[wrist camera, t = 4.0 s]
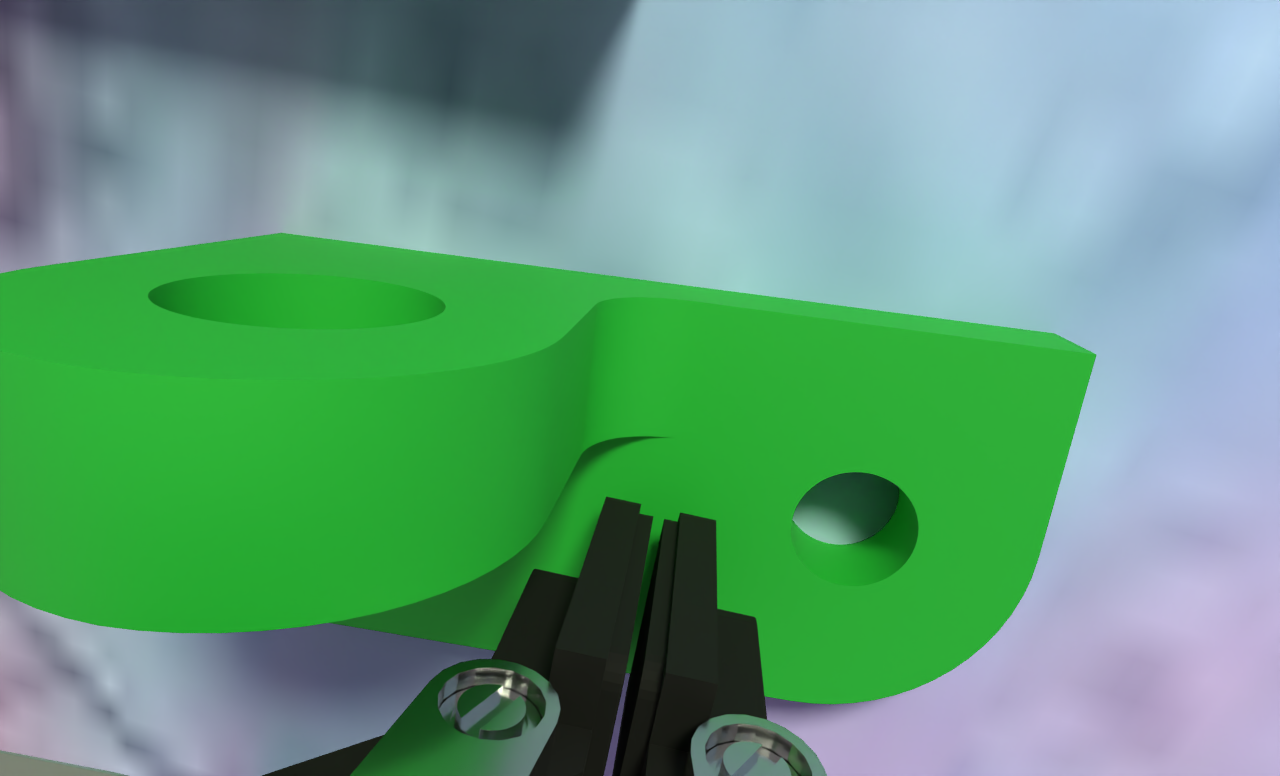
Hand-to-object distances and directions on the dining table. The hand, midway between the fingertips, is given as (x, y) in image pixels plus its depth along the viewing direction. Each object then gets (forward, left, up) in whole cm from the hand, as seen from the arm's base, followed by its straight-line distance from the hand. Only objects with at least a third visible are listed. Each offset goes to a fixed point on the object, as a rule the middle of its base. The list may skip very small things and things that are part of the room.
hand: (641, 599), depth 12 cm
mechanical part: (+1, -1, -3) cm, 3 cm away
